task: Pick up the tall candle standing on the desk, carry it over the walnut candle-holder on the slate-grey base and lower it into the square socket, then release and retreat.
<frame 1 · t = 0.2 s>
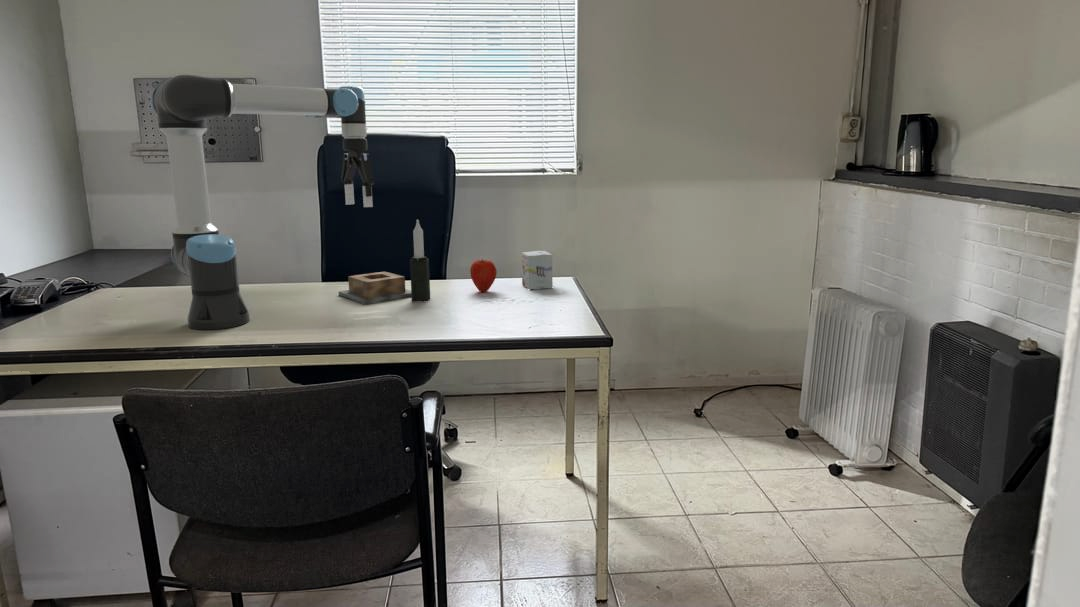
hand: (359, 205, 220), 28 cm above the table, fingers open, 13 cm apart
red strawberry: (483, 292, 225), on the table
holder: (377, 295, 219), on the table
ink box: (537, 287, 232), on the table
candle: (421, 300, 213), on the table
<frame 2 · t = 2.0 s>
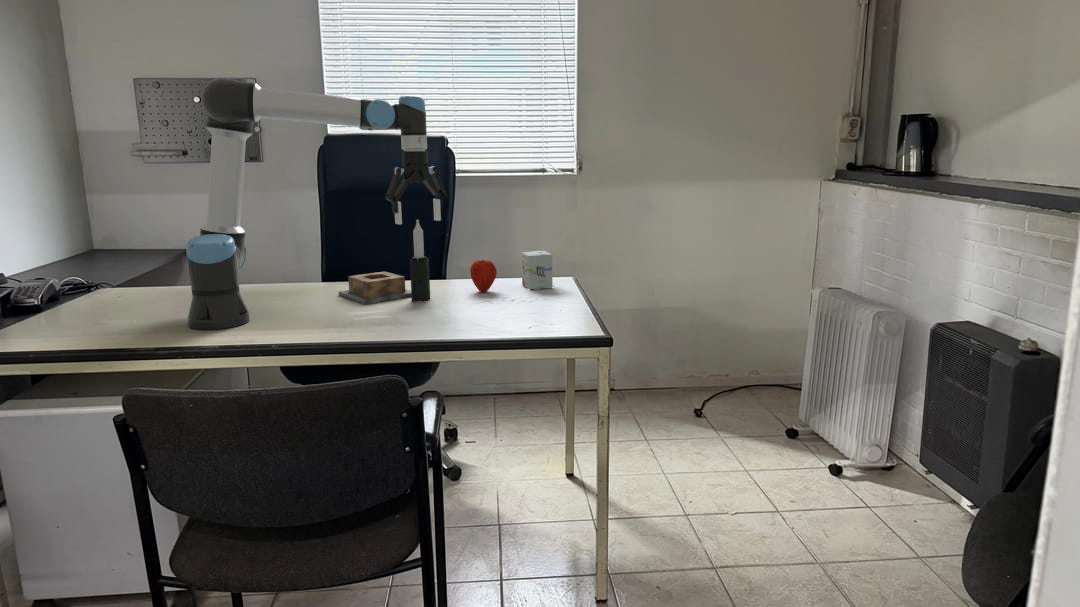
hand: (418, 222, 207), 24 cm above the table, fingers open, 13 cm apart
nothing on the table moved.
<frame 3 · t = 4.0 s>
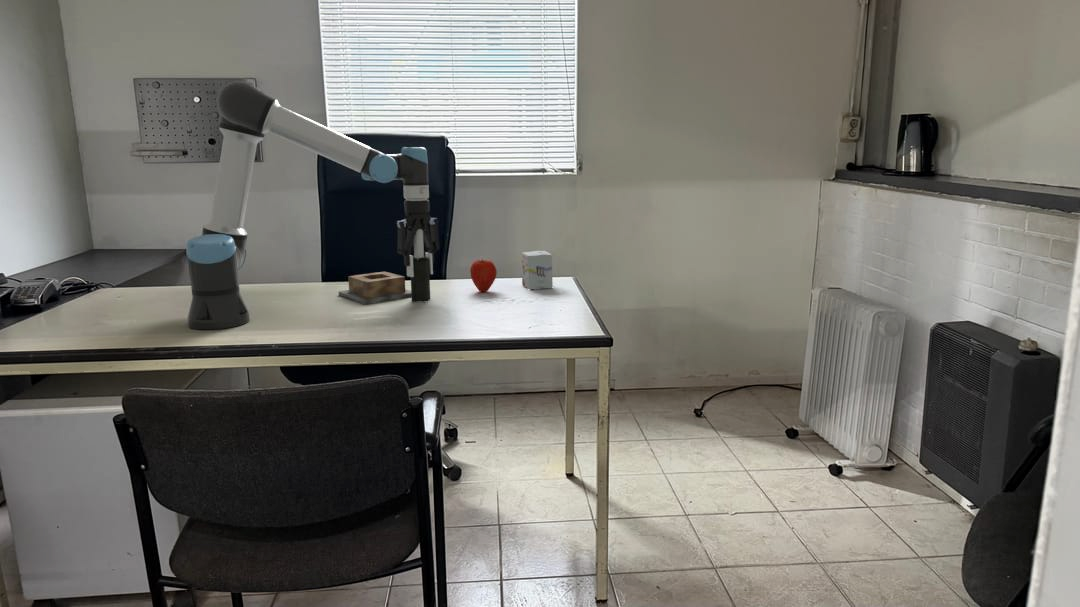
hand: (420, 274, 211), 8 cm above the table, fingers closed on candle, 6 cm apart
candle: (421, 300, 213), on the table, touching gripper
everything else where it was.
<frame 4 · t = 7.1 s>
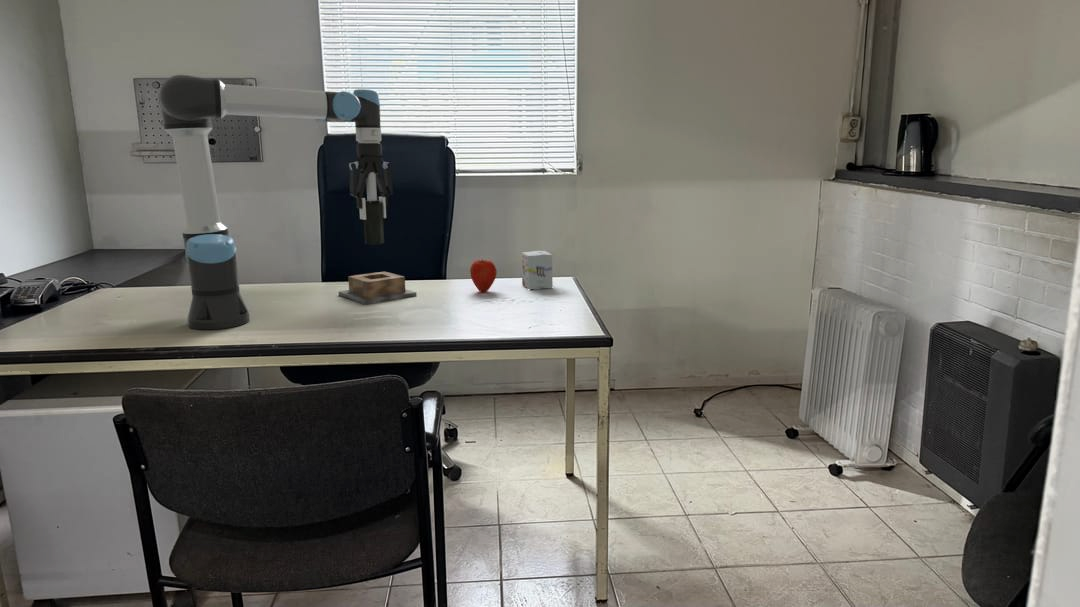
hand: (373, 218, 214), 25 cm above the table, fingers closed on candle, 6 cm apart
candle: (374, 244, 215), point 17 cm above the table, touching gripper
everything else where it was.
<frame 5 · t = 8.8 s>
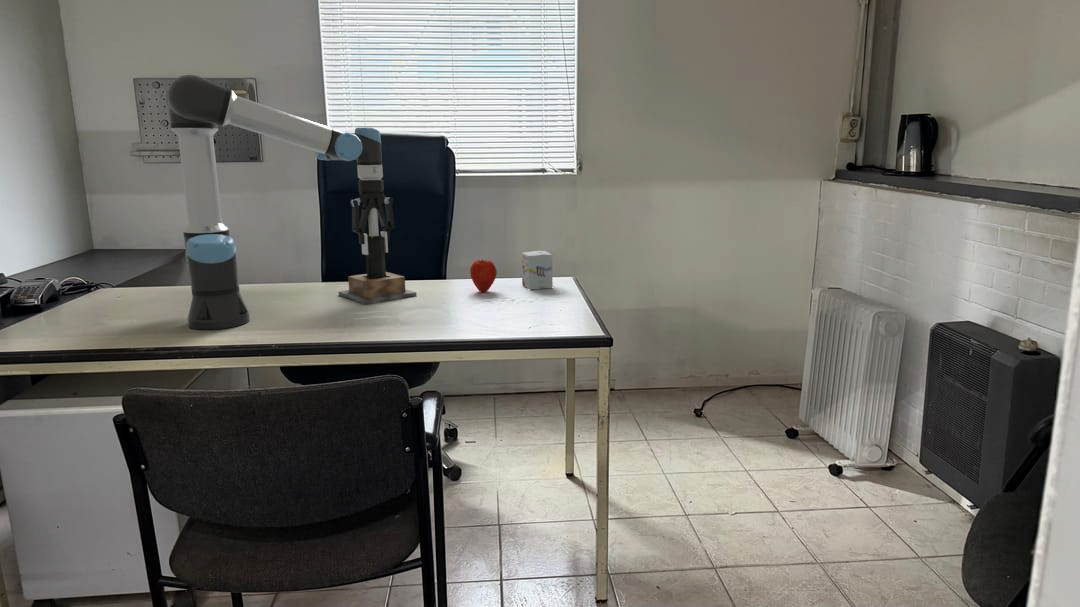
hand: (375, 253, 216), 14 cm above the table, fingers closed on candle, 6 cm apart
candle: (376, 278, 218), point 6 cm above the table, touching gripper
everything else where it was.
when the fingers open (10 cm above the table, at t = 10.2 s): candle drops 1 cm, resting on holder.
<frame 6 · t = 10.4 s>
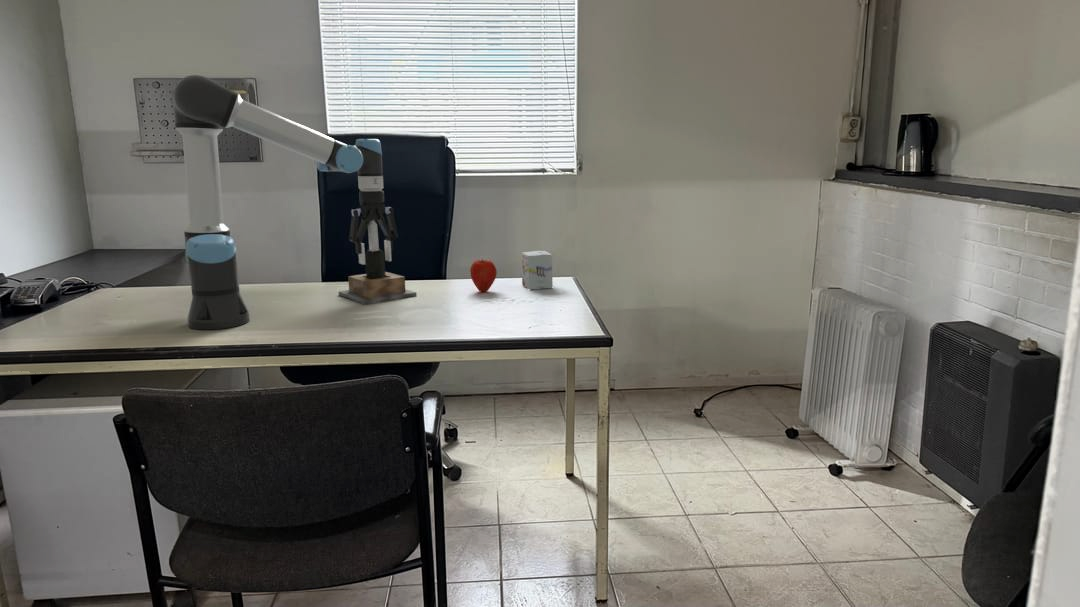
hand: (375, 262, 217), 11 cm above the table, fingers open, 8 cm apart
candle: (377, 292, 219), point 1 cm above the table, touching holder
everything else where it was.
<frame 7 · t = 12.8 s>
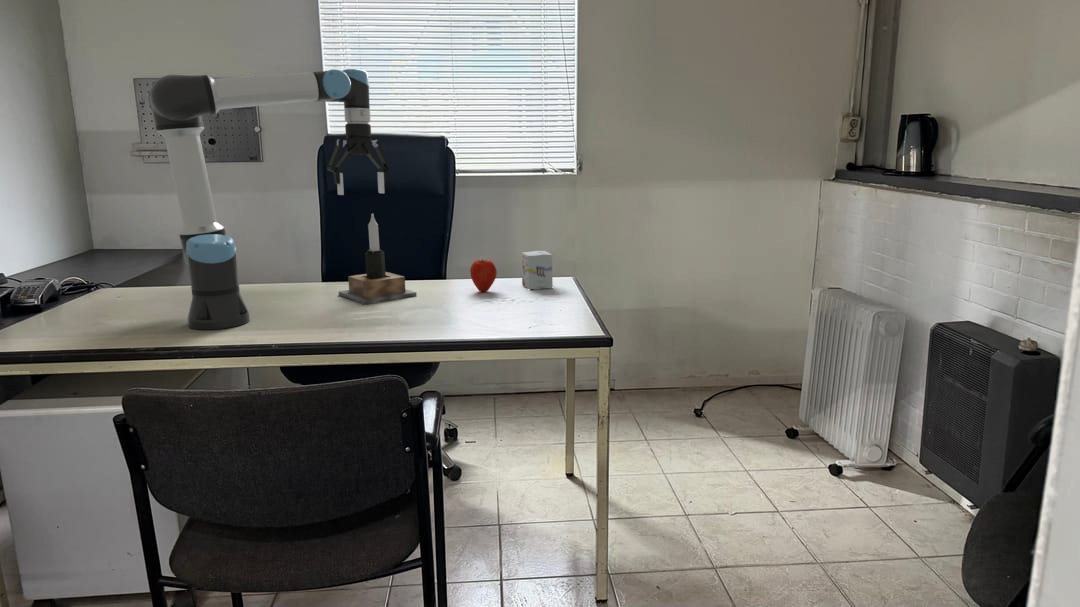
hand: (361, 194, 212), 32 cm above the table, fingers open, 13 cm apart
nothing on the table moved.
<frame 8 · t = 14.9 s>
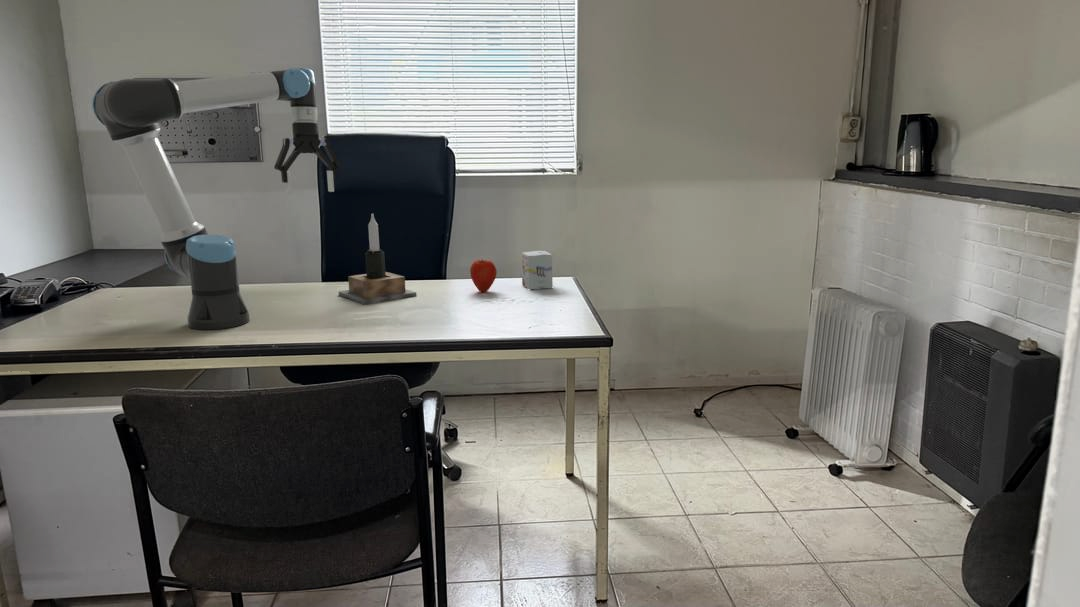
hand: (310, 192, 212), 33 cm above the table, fingers open, 13 cm apart
nothing on the table moved.
at the end: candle 0.1 cm off-centre on the holder, point 1.0 cm above the holder's base; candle tilted 0°; the gripper is holding nothing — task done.
